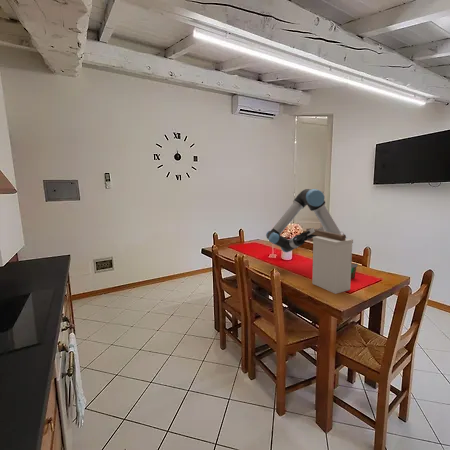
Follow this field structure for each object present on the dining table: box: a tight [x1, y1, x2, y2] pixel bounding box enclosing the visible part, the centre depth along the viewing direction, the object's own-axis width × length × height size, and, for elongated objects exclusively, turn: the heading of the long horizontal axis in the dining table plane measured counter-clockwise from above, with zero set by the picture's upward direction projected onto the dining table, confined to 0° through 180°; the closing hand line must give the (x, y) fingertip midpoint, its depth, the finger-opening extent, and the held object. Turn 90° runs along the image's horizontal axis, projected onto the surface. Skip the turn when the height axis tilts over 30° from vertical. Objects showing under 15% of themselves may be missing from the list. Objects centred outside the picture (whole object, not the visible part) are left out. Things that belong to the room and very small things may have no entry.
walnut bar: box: [305, 228, 347, 241], centre depth 162 cm, size 3×28×3 cm, turn 26°
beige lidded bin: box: [311, 236, 354, 295], centre depth 159 cm, size 13×18×30 cm
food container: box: [351, 263, 358, 280], centre depth 176 cm, size 12×6×10 cm, turn 36°
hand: (318, 229), depth 166 cm, fingers open, 8 cm apart
